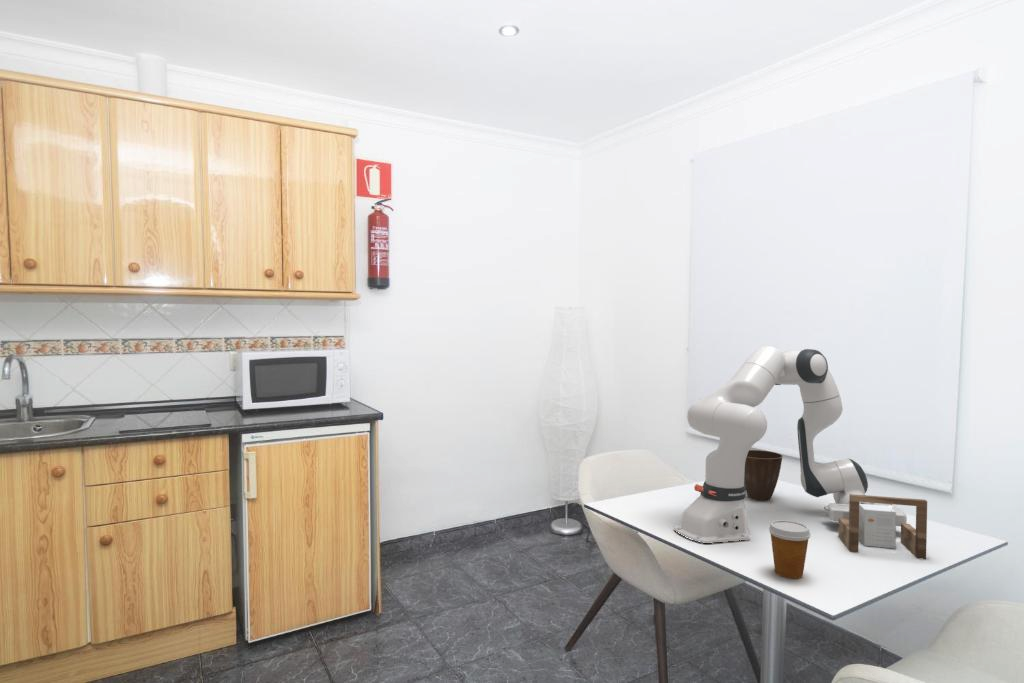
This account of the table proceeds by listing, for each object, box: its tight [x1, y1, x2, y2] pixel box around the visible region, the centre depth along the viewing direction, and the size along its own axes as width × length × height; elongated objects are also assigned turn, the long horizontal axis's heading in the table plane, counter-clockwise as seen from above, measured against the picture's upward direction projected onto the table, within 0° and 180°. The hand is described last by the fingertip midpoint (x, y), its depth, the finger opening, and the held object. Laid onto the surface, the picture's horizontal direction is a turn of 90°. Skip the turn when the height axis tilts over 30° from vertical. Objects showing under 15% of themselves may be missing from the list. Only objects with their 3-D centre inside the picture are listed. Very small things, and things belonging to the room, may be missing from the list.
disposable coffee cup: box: [768, 519, 812, 580], centre depth 144 cm, size 10×10×12 cm
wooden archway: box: [837, 494, 928, 560], centre depth 161 cm, size 12×18×16 cm, turn 74°
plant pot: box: [744, 449, 783, 502], centre depth 208 cm, size 15×15×16 cm
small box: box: [859, 504, 897, 549], centre depth 164 cm, size 8×6×10 cm
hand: (873, 523), depth 167 cm, fingers closed
